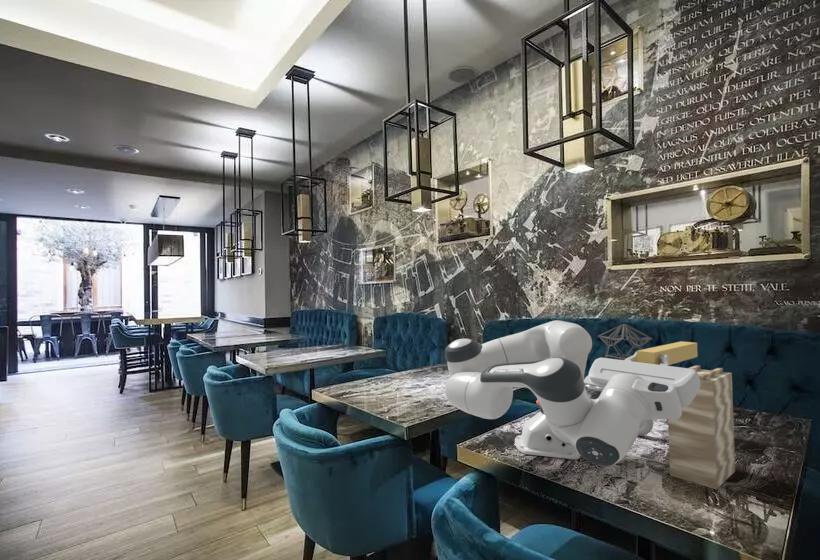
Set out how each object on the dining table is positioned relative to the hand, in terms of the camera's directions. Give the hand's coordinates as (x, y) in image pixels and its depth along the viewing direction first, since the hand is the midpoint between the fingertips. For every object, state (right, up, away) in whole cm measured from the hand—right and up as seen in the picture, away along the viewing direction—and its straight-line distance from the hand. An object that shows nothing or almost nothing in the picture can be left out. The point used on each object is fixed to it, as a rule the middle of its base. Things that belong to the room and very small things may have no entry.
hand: (652, 355), depth 89 cm
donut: (+22, -36, +46) cm, 63 cm away
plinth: (+24, -34, +18) cm, 46 cm away
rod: (+7, -2, +6) cm, 10 cm away
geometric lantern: (+35, -36, +76) cm, 91 cm away
